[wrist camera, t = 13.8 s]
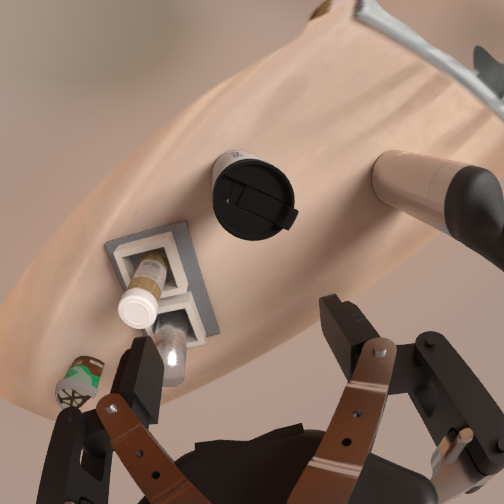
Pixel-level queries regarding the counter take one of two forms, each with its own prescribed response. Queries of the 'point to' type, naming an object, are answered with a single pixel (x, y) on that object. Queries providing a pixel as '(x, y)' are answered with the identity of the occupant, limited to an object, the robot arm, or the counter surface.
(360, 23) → the counter surface
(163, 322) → the cylinder
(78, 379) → the food container
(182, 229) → the grey and white holder
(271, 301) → the counter surface
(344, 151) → the counter surface
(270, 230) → the travel mug
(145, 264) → the sprinkles bottle
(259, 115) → the counter surface
